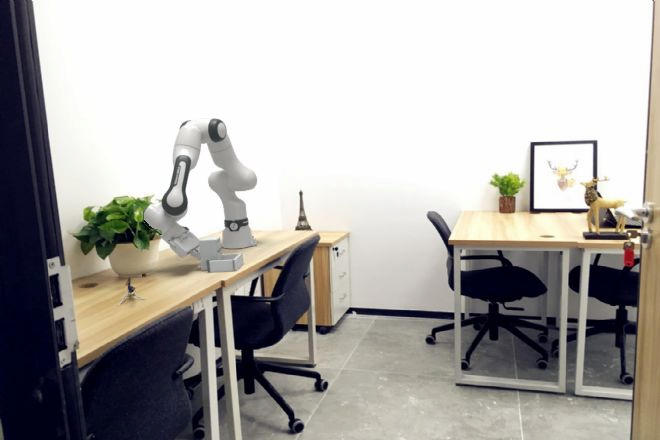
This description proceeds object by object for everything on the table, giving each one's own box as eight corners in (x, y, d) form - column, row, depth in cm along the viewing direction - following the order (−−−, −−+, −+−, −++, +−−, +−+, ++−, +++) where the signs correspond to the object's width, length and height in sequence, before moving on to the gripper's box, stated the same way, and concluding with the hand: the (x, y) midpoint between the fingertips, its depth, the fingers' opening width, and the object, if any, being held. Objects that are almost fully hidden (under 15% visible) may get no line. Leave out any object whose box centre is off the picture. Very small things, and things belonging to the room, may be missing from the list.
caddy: (216, 264, 213) (215, 252, 213) (243, 263, 213) (242, 251, 212) (207, 272, 200) (206, 259, 199) (236, 270, 200) (235, 258, 199)
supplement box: (218, 270, 203) (216, 239, 201) (201, 270, 204) (198, 240, 202) (223, 265, 211) (220, 236, 209) (206, 266, 211) (203, 237, 209)
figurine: (145, 311, 177) (142, 312, 158) (120, 306, 175) (114, 306, 156) (153, 283, 179) (151, 280, 160) (128, 278, 177) (123, 274, 158)
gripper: (171, 234, 195) (198, 257, 196) (188, 226, 215) (212, 247, 216) (161, 246, 196) (188, 269, 196) (179, 237, 216) (203, 257, 217)
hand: (201, 257), depth 206 cm, fingers closed, pressing on supplement box
